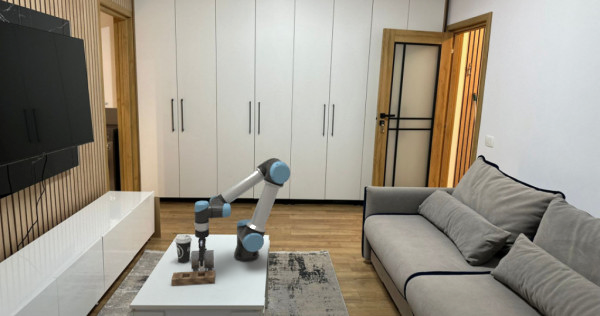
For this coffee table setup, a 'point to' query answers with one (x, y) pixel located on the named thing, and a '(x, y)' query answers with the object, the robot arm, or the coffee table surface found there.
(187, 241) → the coffee cup
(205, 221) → the robot arm
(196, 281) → the rail
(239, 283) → the coffee table surface
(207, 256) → the grey flat block
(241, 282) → the coffee table surface
